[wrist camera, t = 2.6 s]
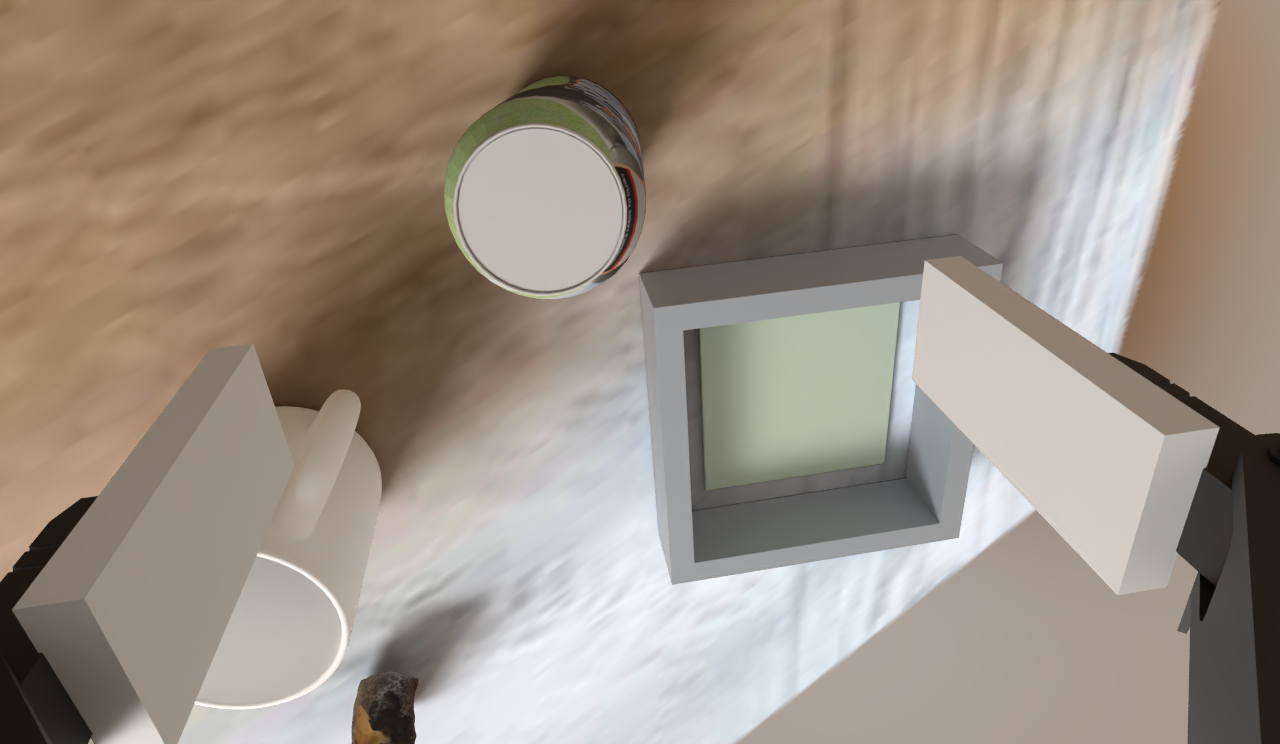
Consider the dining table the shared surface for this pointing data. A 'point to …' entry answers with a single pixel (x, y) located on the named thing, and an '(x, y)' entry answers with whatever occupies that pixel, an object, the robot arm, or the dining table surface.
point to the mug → (303, 566)
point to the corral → (796, 406)
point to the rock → (385, 710)
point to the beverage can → (548, 189)
